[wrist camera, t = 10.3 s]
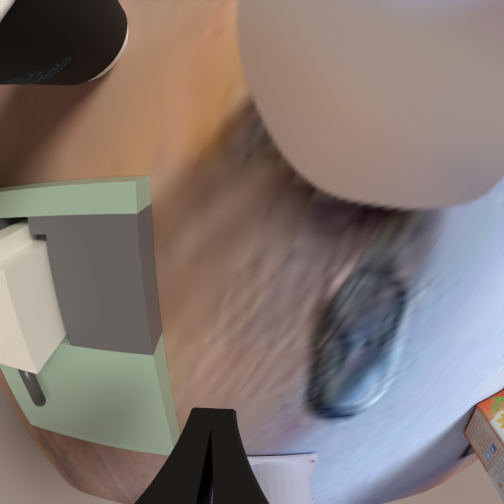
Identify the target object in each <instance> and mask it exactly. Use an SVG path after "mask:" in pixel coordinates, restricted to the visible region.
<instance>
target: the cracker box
mask: <svg viewBox="0 0 504 504" xmlns="http://www.w3.org/2000/svg"><path fill="white" fill-rule="evenodd" d="M464 435H465V436H466V438H467V439H468V441H469V443H470V444H471V446H472V448H473V449H474V451H475V453H476V454H477V456H478V458H479V460H480V461H481V463H482V465H483V467H484V468H485V470H486V472H487V473H488V475H489V477H490V479H491V480H492V482H493V484H494V486H495V488H496V489H497V491H498V493H499V495H500V497H501V499H502V501H503V503H504V390H502V391H501V392H499V393H497V394H495V395H494V396H492V397H490V398H488V399H486V400H484V401H482V402H481V403H479V404H477V406H476V408H475V411H474V413H473V415H472V417H471V419H470V421H469V423H468V425H467V427H466V429H465V431H464Z"/></svg>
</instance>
